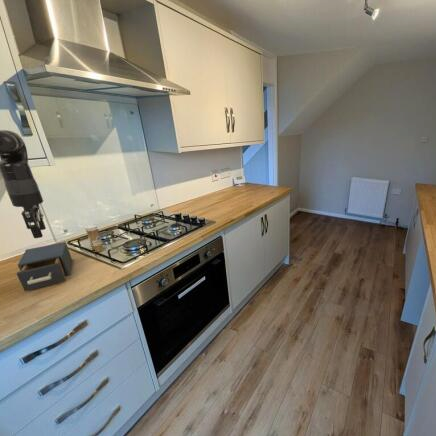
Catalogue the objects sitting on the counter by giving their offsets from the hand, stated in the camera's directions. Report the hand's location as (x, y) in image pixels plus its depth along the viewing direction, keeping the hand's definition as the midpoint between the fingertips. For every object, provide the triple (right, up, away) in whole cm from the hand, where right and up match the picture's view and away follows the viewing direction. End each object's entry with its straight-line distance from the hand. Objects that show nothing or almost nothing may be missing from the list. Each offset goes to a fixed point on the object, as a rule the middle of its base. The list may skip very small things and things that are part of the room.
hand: (40, 233), depth 88 cm
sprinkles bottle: (-4, -11, +32) cm, 34 cm away
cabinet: (-10, -17, +14) cm, 24 cm away
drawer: (-5, -19, +7) cm, 21 cm away
